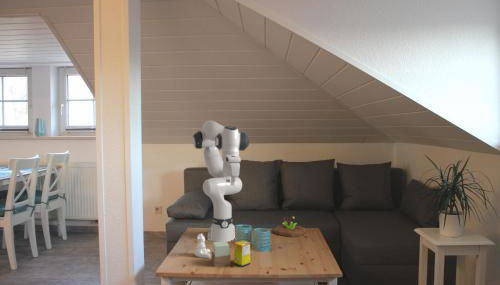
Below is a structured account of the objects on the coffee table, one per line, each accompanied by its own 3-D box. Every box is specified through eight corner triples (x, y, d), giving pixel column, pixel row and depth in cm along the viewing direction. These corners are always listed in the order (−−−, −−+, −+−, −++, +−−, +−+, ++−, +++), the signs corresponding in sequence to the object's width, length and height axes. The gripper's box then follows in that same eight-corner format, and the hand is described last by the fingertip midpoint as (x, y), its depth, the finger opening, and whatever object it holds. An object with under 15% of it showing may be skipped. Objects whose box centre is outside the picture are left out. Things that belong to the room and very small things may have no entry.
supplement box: (242, 260, 185) (242, 239, 185) (250, 264, 181) (250, 242, 181) (233, 263, 181) (233, 242, 181) (241, 267, 177) (242, 245, 176)
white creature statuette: (210, 258, 188) (210, 236, 187) (193, 259, 187) (194, 236, 186) (210, 252, 197) (210, 230, 197) (194, 253, 196) (194, 231, 196)
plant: (295, 238, 224) (295, 221, 224) (269, 233, 236) (269, 216, 236) (310, 231, 240) (310, 215, 240) (285, 226, 252) (285, 210, 252)
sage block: (212, 251, 184) (213, 242, 184) (226, 250, 186) (226, 241, 186) (215, 256, 177) (215, 246, 177) (229, 255, 179) (229, 245, 179)
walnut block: (211, 261, 185) (211, 251, 184) (226, 259, 187) (226, 250, 187) (214, 267, 177) (214, 257, 177) (230, 265, 179) (230, 255, 179)
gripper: (220, 156, 196) (220, 181, 197) (229, 159, 177) (229, 187, 177) (231, 156, 198) (231, 180, 199) (241, 159, 179) (241, 186, 179)
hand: (230, 184), depth 188 cm, fingers open, 8 cm apart
